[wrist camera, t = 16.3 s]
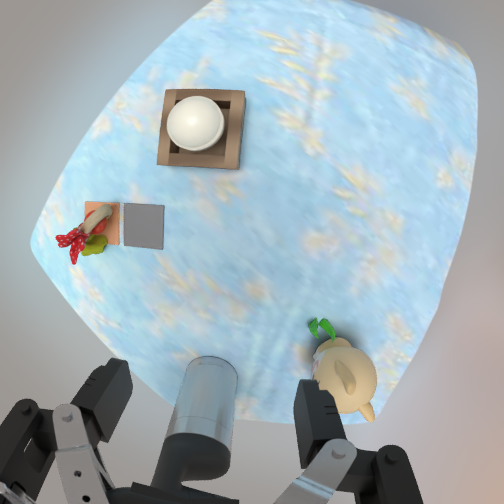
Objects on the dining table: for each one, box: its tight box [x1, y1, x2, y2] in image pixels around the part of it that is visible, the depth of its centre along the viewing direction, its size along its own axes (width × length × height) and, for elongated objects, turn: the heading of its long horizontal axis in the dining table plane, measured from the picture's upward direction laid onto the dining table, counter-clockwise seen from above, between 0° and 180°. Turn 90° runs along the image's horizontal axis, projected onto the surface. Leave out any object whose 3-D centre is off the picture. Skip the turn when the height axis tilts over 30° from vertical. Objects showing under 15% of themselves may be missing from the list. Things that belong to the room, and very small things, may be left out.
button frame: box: [157, 89, 246, 170], centre depth 33 cm, size 10×10×5 cm
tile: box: [85, 202, 119, 245], centre depth 39 cm, size 6×6×1 cm
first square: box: [124, 203, 164, 250], centre depth 39 cm, size 6×6×1 cm
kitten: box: [309, 318, 377, 422], centre depth 38 cm, size 15×10×15 cm
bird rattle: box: [55, 204, 113, 265], centre depth 34 cm, size 6×11×9 cm
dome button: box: [167, 96, 225, 151], centre depth 29 cm, size 6×6×7 cm
